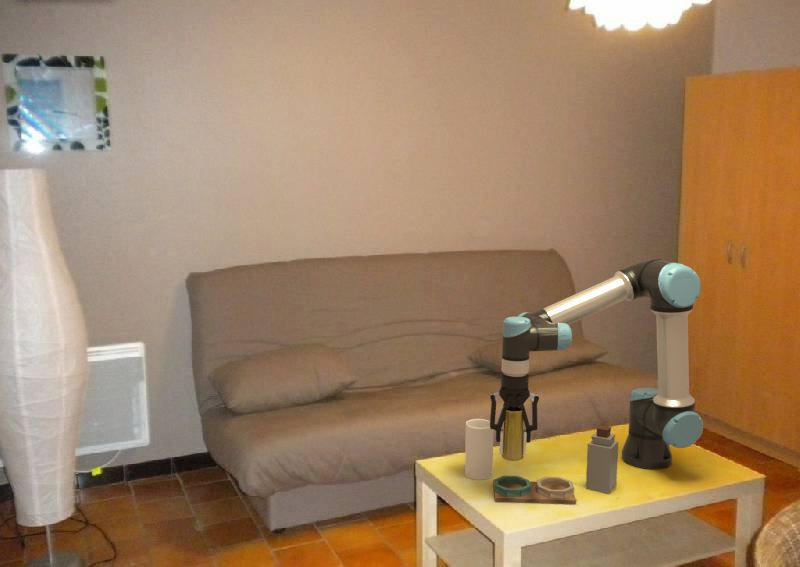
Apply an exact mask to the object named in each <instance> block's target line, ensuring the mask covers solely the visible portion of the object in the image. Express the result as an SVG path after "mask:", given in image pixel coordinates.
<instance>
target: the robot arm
mask: <svg viewBox="0 0 800 567" xmlns="http://www.w3.org/2000/svg"><path fill="white" fill-rule="evenodd" d="M698 275H699V274H698V273H697V272H696V271H695V270H694V269H693V268H691V267H689V266H688V265H685V264H682V263H679V262H673V261H668V260H663V259H658V258H648V259H646V260H641V261H639V262H637V263H634V264H632V265H630V266H626V267H625V268H622V269H620V270H618V271H616V272H615V273H614V275H613V277H609V278H608V279H606V280H604V281H602V282H600V283H597V284H594V285H593V286H590V287H589V288H586V289H584V290H582V291H580V292H577V293H574V294H573V295H571V296H568V297H566V298H564V299H562V300H559V301H557V302H555V303H553V304H550V305H548V306H546V307H544V308H541V309H539V310H536V311H535V312H527V311H526V312H525V311H524V312H521V313H519V315H517V316H509V317H506V318H505V319H504V320H503V322H502V323H503V324H502V330H501V338H502V339H501V369H500V370H501V372H502V373H501V375H500V388H499V391H498V392H497V391H496V392H490V393H489V398H490V402H491V403H490V406H491V407H490V415H489V416H490V417H489V421H490V428H491V429H493V431H495V441H496V443H499V455H502V454H503V433H504V428H503V426H504V419H505V417H506V410H508V409H509V406H517V407H520V409H521V410H523V412H522V416H523V424H524V427H525V429H523V456H527V444H531V436H532V435H531V434H532V432H533V431H537V430H538V404H539V403H538V402H539V400H540V396H539V394H538V393H531V392H530V390H529V378H530V377H529V376H530V375H529V372H530V353H531V352H549V351H551V352H552V351H556V352H558V351H565V350H568V349H570V348H571V345H572V342H573V332H572V328H571V327H570V325H572V324H574V323H577V322H578V321H581V320H583V319H585V318H588V317H590V316H592V315H595V314H597V313H599V312H600V311H604V310H605V309H607V308H610V307H612V306H614V305H616V304H619V303H620V302H623V301H627V302H632V301H634V300H635V299H639V298H649V301H650V302H649V303H650V304H649V305H650V308H649V309H650V311H651V312H652V313H653V314H654V315H655V320H656V323H655V324H656V351H657V352H656V354H657V355H656V356H657V357H656V358H657V359H656V360H657V387H640V388H639V387H638V388H635V389H633V390H632V391H631V392H630V397H629V417H628V433H627V438H626V439H625V442H624V444H623V447H622V450H621V459H622V461H623V462H624V463H626V464H628V465H630V466H633V467H636V468H641V469H648V470H660V469H662V470H663V469H665V468H668V467H670V466H672V464H673V455H672V450H671V448H670V446H672V447H674V448H675V449H685V448H688V447H691V446H693V445H694V444H695V443H696V442H697V441H698V440H699V439H700V437H701V436H702V433H703V431H704V422H703V419H702V417H701V416H700V415H699V414H698V413H697V412H696V399H695V398H694V397H693V396H692V395H691V394H690V372H689V370H690V367H689V365H690V364H689V363H690V362H689V324H688V320H689V318H688V317H689V316H688V315H689V314H690V313H692V312H693V310H694V304H695V303H696V302H697V300H698V298H699V297H700V294H701V290H702V283H701V280H700V277H699V276H698ZM499 398H501V400H502V401H503V406H502V407H501V411H500V414H499V417H498V420H497V422H496V412H497V401H499ZM529 398H530V399H529ZM528 399H529V400H530V402H531V422H532V423H531V424H530V422H529V419H528V415H527V411H526V409H525V405H524V404H525V403H526V401H527V400H528Z"/></svg>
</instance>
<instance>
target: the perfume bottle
mask: <svg viewBox="0 0 800 567" xmlns="http://www.w3.org/2000/svg"><path fill="white" fill-rule="evenodd" d="M595 429H596V430H595V432H594V433H593V434H591V436H590V438H591V441H589V442H588V443H587V455H586V476H585V477H586V482H585V490H589V491H594V492H597V493H602V494H606V495H610V494H611V492H613V491H614V489H615V488H616V487H617V478H618V476H617V474H618V461H619V460H618V458H619V457H618V456H619V441H617V440H615V438H616V433H613V432H611V430H612V426H608V425H607V426H606V425H601V424H600V425H598V426H597V427H596V428H595Z"/></svg>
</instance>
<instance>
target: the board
mask: <svg viewBox="0 0 800 567" xmlns="http://www.w3.org/2000/svg"><path fill="white" fill-rule="evenodd" d="M492 482H493V483H492V484H493V493H494V494H493V495H494V500H495V503H512V504H513V503H518V504H520V503H522V504H523V503H524V504H547V505H548V504H550V505H553V504H554V505H577V499H576V496H575V486H574V483H573V481H572V480H569V479H567V478H564V477H561V476H544V477H542V478H540V479H537V480H536V481H535V480H534V481H530V480H529V479H527V478H524V477H522V476H520V475H502V476H501V475H500V476H498V477H496V478H494V479H493V480H492Z"/></svg>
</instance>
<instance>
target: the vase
mask: <svg viewBox="0 0 800 567" xmlns="http://www.w3.org/2000/svg"><path fill="white" fill-rule="evenodd" d="M522 412H523V410H521V409H520V407H517V406H509V409H508V410H506V417H505V419H504V422H503V454H501V458H502V459H503V460H505V461H509V462H519V461H523V459H524V456H525V455H523V430H524V420H523V416H522Z"/></svg>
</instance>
